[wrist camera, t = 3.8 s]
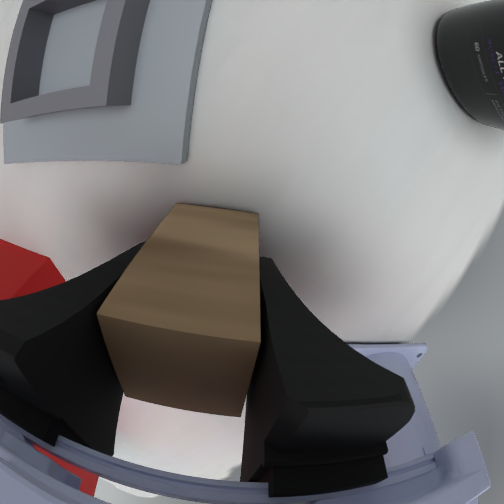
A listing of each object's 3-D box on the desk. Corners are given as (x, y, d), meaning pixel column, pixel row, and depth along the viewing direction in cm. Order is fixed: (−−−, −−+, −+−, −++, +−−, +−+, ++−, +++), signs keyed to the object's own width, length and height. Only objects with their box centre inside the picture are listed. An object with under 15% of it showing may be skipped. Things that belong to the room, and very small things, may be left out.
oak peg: (246, 282, 13) (240, 417, 7) (175, 272, 13) (125, 396, 7) (258, 213, 11) (260, 342, 5) (176, 203, 11) (96, 313, 5)
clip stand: (187, 160, 11) (165, 176, 8) (15, 159, 10) (-20, 174, 7) (226, -52, 5) (219, -85, 3) (40, -9, 5) (9, -18, 2)
